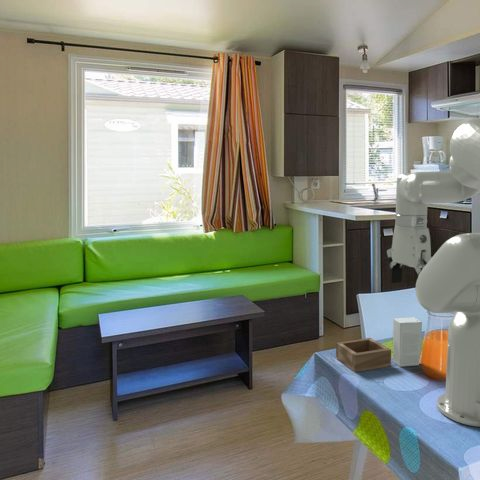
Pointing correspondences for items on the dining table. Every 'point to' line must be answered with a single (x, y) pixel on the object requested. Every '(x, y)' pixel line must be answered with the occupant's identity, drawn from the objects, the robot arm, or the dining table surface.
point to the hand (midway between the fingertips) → (408, 286)
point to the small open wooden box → (363, 354)
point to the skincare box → (407, 341)
